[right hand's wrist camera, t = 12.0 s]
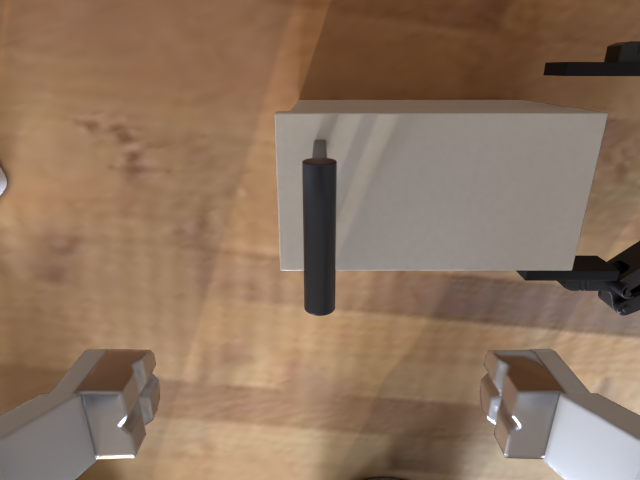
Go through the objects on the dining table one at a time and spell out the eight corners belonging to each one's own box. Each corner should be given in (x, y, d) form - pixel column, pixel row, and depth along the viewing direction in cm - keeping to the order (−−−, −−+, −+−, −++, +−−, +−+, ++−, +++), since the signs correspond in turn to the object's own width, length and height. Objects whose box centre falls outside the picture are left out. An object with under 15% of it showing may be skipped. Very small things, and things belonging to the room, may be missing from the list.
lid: (281, 263, 29) (266, 339, 21) (276, 111, 25) (255, 131, 17) (563, 263, 28) (658, 340, 20) (597, 111, 25) (727, 131, 17)
